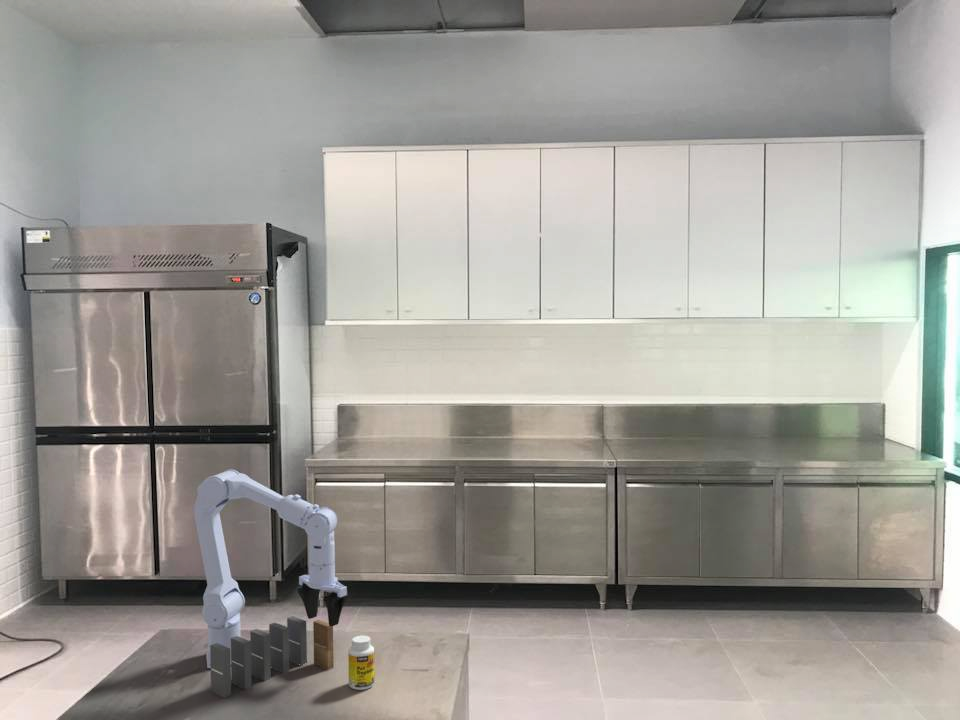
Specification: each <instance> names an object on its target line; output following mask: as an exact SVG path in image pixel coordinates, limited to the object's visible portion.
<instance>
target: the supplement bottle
mask: <svg viewBox="0 0 960 720" xmlns="http://www.w3.org/2000/svg"><path fill="white" fill-rule="evenodd" d="M371 643H372V641H371V637H370V636H368V635H357V636H355V637H353V638H352V639H351V646H350V647H349V648H348V652H347V653H348V685H349V687H350V688H351V689H353V690H358V691H365V690H367V689H370V688H372V687H373V686H374V684H375V648H374V646H373V645H372V644H371Z"/></svg>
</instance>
